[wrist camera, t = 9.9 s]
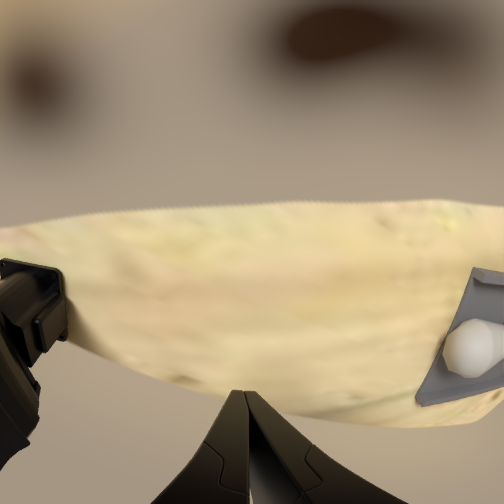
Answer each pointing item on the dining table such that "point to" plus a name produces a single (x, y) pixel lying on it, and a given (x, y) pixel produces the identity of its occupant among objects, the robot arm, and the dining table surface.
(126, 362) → the dining table surface
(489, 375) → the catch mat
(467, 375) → the salt shaker
